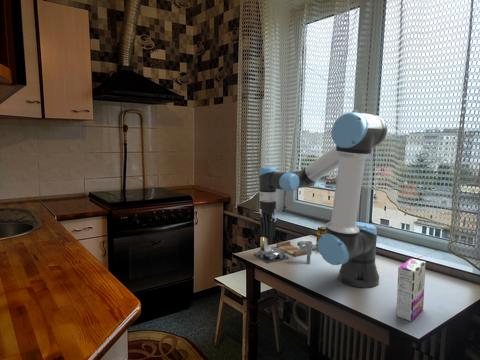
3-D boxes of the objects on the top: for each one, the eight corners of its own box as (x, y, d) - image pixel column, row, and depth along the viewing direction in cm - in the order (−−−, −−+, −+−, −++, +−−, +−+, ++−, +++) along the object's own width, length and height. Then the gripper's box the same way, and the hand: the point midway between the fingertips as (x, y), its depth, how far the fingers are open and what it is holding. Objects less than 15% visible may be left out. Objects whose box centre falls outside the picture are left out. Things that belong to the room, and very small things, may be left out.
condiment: (314, 248, 168) (314, 226, 167) (330, 249, 168) (331, 226, 166) (317, 253, 161) (317, 229, 159) (334, 253, 160) (335, 230, 159)
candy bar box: (407, 304, 111) (410, 257, 109) (423, 309, 108) (426, 261, 106) (394, 316, 103) (397, 266, 101) (411, 322, 100) (415, 271, 98)
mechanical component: (320, 264, 146) (321, 243, 145) (297, 264, 146) (298, 242, 145) (319, 262, 149) (319, 241, 148) (296, 262, 149) (297, 240, 148)
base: (289, 258, 154) (289, 256, 154) (267, 263, 148) (267, 261, 148) (274, 251, 164) (274, 249, 164) (253, 255, 158) (253, 253, 158)
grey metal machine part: (269, 261, 147) (270, 244, 146) (252, 253, 157) (252, 237, 156) (290, 255, 154) (290, 239, 153) (272, 248, 165) (272, 233, 164)
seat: (308, 254, 160) (308, 249, 159) (295, 257, 156) (295, 252, 156) (288, 245, 173) (289, 241, 173) (276, 247, 169) (276, 243, 169)
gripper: (253, 199, 152) (253, 248, 155) (268, 203, 141) (268, 256, 144) (266, 197, 156) (266, 245, 159) (283, 202, 145) (282, 253, 147)
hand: (267, 250), depth 151 cm, fingers closed
